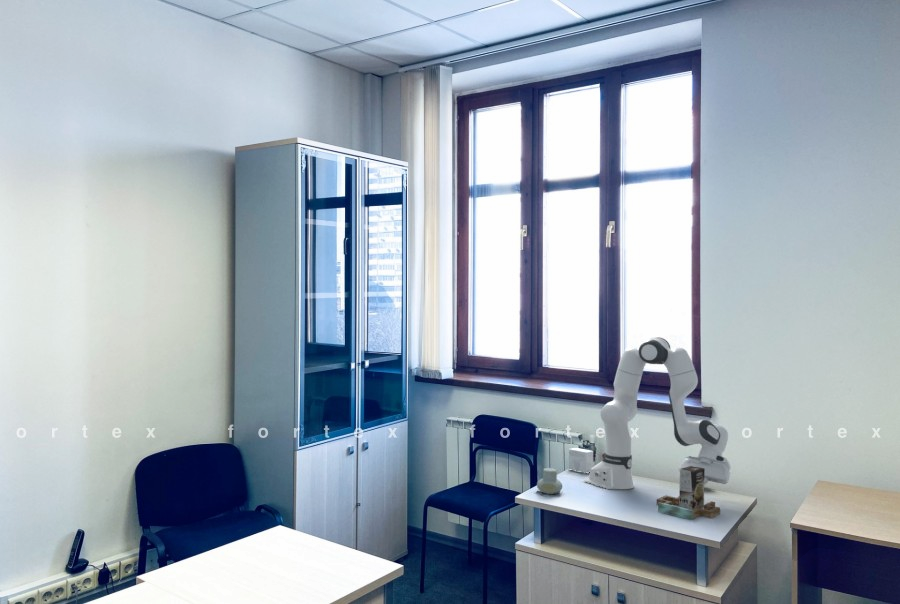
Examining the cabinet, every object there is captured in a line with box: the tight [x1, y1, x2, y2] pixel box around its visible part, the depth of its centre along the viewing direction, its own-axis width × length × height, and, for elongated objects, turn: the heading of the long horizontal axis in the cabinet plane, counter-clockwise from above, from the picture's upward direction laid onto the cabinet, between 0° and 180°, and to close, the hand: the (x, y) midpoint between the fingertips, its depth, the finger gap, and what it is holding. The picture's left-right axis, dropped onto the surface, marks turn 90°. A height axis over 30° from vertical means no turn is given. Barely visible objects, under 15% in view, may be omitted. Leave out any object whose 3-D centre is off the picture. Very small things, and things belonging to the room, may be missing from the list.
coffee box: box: [678, 466, 705, 510], centre depth 278 cm, size 9×6×16 cm
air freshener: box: [536, 467, 563, 495], centre depth 296 cm, size 11×8×10 cm
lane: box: [656, 494, 721, 521], centre depth 274 cm, size 23×22×4 cm
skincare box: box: [568, 447, 594, 473], centre depth 335 cm, size 10×6×10 cm, turn 44°
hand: (698, 487), depth 282 cm, fingers closed
